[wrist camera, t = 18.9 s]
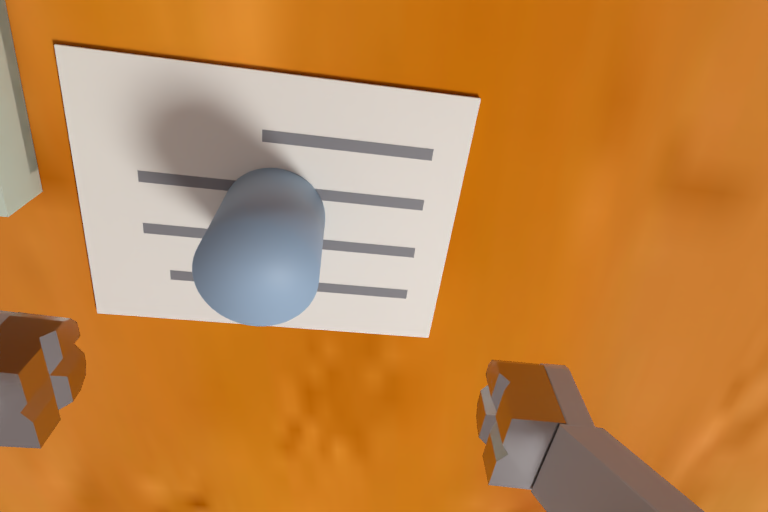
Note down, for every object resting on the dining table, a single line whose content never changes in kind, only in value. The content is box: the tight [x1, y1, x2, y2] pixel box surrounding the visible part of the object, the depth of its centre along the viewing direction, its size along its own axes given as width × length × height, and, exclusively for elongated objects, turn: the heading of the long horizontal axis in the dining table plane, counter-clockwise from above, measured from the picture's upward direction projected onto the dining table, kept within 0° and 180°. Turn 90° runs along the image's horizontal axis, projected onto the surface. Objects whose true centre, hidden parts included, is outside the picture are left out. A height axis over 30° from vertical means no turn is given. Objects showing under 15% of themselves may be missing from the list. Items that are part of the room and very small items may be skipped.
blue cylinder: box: [192, 168, 325, 326], centre depth 21 cm, size 4×4×5 cm
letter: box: [54, 44, 481, 338], centre depth 23 cm, size 16×12×1 cm
